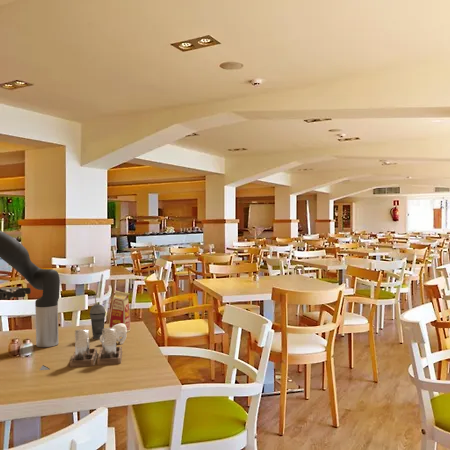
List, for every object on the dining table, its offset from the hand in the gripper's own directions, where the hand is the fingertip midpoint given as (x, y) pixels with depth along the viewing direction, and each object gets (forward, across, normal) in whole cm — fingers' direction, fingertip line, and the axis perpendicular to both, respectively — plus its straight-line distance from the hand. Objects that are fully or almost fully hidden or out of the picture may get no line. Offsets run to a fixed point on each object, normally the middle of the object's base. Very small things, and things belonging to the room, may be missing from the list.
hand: (27, 292), depth 177 cm
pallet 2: (+28, +4, +28) cm, 40 cm away
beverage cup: (+21, +44, +28) cm, 57 cm away
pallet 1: (+19, +4, +28) cm, 34 cm away
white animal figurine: (+28, +31, +28) cm, 51 cm away
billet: (+28, -1, +27) cm, 39 cm away
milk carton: (+31, +57, +28) cm, 71 cm away
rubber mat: (+9, -1, +28) cm, 29 cm away
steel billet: (+19, -1, +27) cm, 33 cm away
